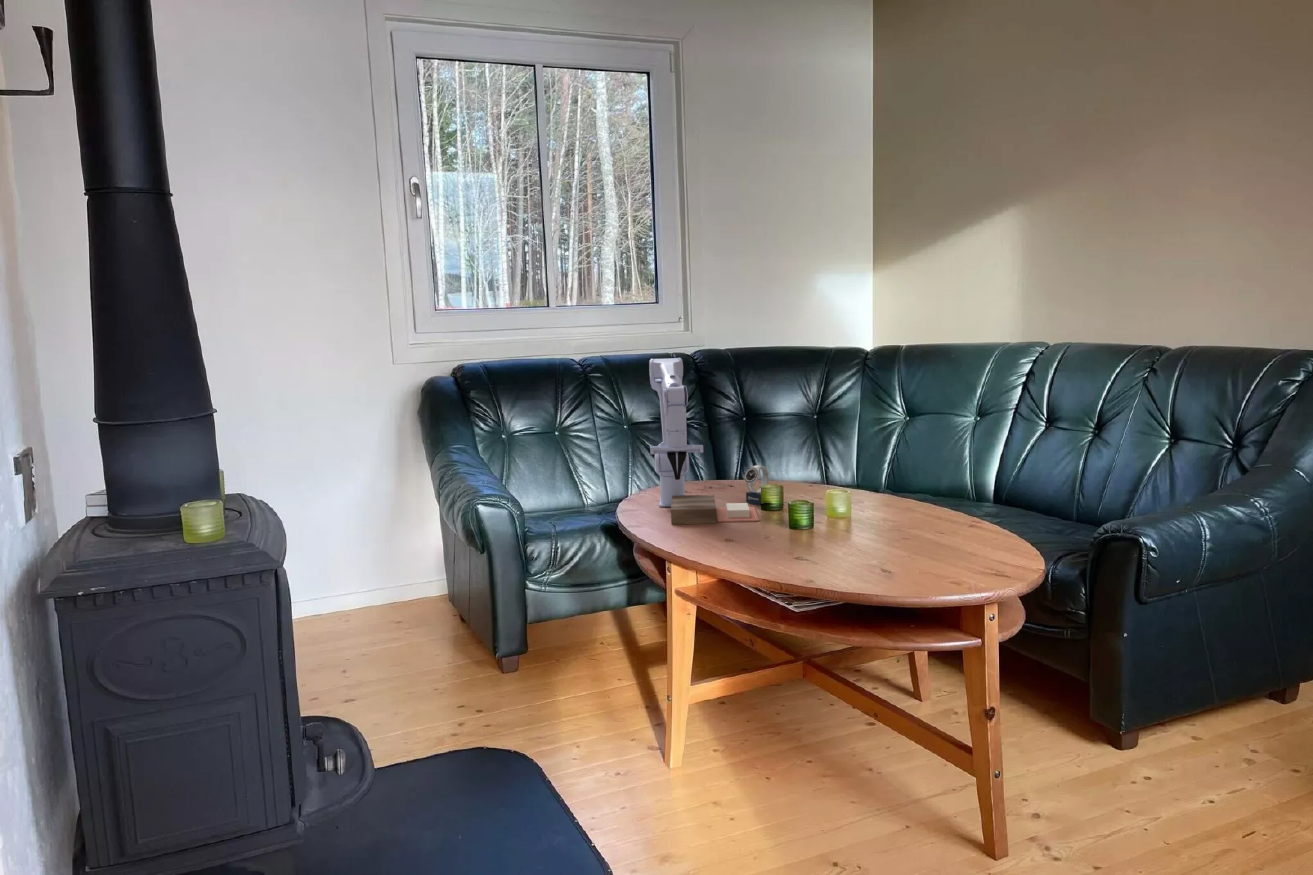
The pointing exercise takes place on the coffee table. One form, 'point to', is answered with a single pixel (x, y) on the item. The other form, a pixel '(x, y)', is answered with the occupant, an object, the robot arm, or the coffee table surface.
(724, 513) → the mat
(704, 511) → the brown wooden block
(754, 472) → the watch
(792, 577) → the coffee table surface
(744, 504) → the tile
